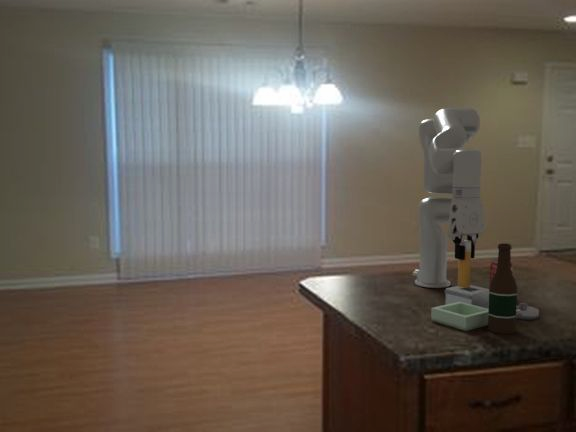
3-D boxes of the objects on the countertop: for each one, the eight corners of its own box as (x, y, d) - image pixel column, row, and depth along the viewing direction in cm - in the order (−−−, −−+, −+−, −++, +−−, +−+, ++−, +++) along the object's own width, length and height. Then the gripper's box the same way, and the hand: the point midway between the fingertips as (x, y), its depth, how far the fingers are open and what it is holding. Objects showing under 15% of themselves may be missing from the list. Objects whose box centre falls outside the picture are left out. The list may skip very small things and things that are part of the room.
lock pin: (464, 287, 181) (465, 242, 180) (455, 285, 184) (456, 240, 182) (472, 286, 183) (473, 241, 182) (462, 284, 186) (464, 239, 184)
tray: (431, 320, 186) (431, 307, 186) (459, 313, 194) (459, 301, 193) (465, 330, 176) (466, 317, 176) (493, 323, 184) (494, 310, 183)
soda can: (513, 303, 205) (515, 263, 204) (490, 302, 207) (491, 263, 205) (510, 298, 212) (512, 259, 211) (487, 297, 214) (489, 259, 212)
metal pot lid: (500, 314, 193) (500, 302, 192) (518, 310, 198) (518, 298, 198) (526, 321, 185) (527, 309, 185) (544, 316, 191) (545, 304, 190)
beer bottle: (482, 326, 180) (485, 242, 178) (509, 326, 181) (512, 241, 178) (493, 335, 173) (496, 246, 170) (521, 334, 173) (525, 246, 171)
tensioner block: (444, 307, 201) (444, 288, 200) (467, 302, 208) (467, 283, 207) (469, 314, 193) (470, 294, 192) (493, 308, 200) (494, 289, 199)
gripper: (457, 195, 173) (455, 263, 175) (496, 193, 182) (493, 257, 184) (436, 194, 179) (434, 259, 181) (474, 191, 188) (472, 253, 190)
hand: (464, 257), depth 182 cm, fingers closed on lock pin, 3 cm apart
